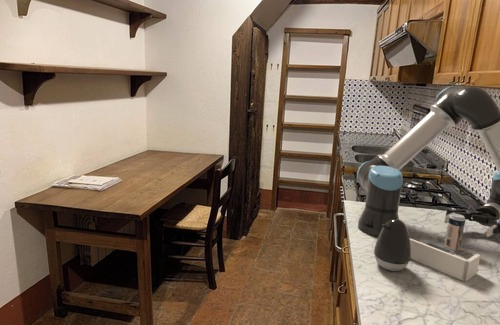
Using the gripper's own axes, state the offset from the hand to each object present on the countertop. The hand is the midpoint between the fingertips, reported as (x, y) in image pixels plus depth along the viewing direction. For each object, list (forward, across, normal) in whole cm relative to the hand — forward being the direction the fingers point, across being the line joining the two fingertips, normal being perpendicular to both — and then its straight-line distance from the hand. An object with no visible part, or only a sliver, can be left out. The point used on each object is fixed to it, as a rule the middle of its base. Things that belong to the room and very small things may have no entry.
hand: (466, 226), depth 125 cm
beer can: (+8, 0, -7) cm, 11 cm away
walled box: (+22, 0, -6) cm, 23 cm away
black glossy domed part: (+38, +6, -7) cm, 39 cm away
